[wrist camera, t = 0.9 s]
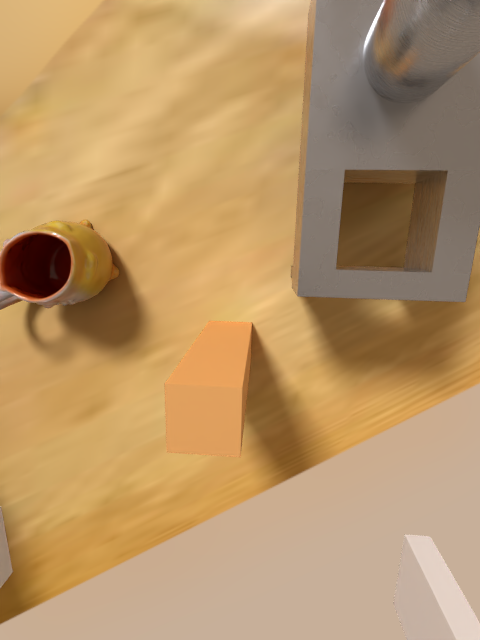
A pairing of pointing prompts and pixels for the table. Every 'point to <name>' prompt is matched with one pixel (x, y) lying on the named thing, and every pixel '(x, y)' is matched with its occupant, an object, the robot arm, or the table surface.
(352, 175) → the legged grey stand
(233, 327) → the orange rectangular prism
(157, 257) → the table surface
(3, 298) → the mug
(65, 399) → the table surface
